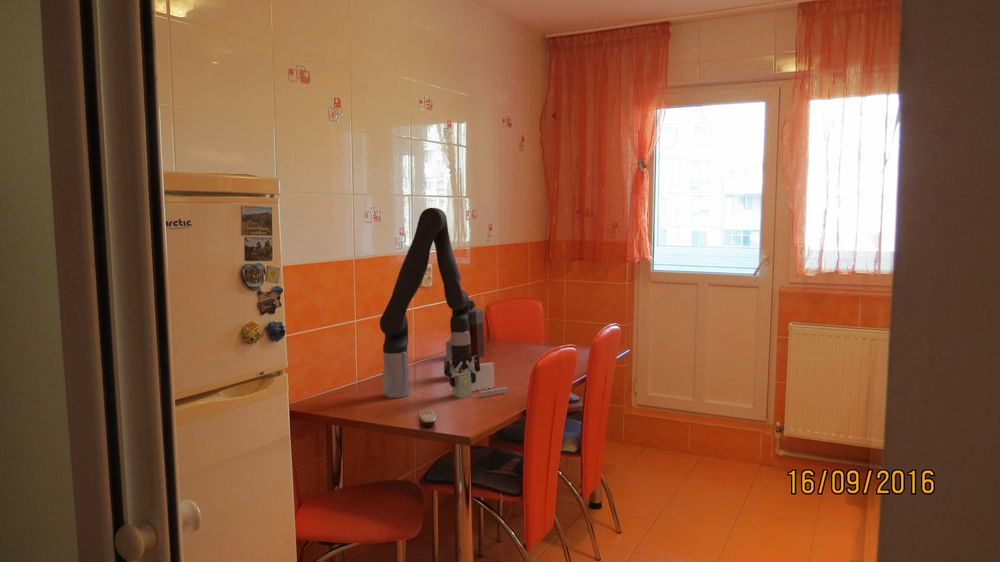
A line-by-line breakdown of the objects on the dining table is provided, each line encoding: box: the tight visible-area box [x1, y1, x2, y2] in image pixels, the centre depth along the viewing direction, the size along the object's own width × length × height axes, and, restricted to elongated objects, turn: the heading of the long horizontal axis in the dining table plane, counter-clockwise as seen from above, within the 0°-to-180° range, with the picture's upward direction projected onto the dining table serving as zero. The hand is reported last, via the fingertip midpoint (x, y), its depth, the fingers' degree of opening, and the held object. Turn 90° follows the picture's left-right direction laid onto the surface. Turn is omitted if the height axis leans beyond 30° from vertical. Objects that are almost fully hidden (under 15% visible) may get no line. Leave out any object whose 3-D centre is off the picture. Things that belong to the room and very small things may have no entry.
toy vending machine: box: [468, 299, 485, 359], centre depth 339 cm, size 9×11×28 cm
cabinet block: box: [452, 373, 473, 399], centre depth 266 cm, size 5×7×8 cm
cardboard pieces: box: [466, 362, 509, 398], centre depth 270 cm, size 12×11×10 cm
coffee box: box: [445, 339, 466, 381], centre depth 297 cm, size 9×6×16 cm
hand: (463, 384), depth 267 cm, fingers open, 8 cm apart
